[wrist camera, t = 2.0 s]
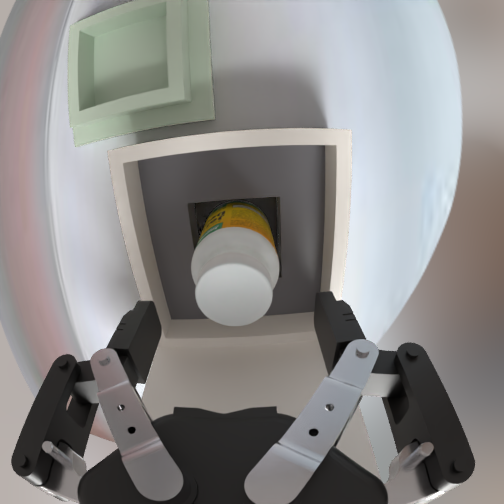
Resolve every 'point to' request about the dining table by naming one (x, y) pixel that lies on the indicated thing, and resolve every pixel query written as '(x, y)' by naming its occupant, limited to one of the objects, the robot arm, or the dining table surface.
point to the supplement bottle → (235, 264)
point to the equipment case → (289, 254)
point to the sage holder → (139, 69)
